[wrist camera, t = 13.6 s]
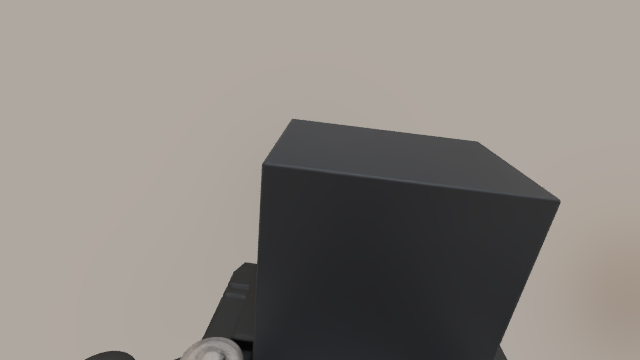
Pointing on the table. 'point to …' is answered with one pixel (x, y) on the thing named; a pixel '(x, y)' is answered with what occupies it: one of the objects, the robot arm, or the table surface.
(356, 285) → the slim remote
